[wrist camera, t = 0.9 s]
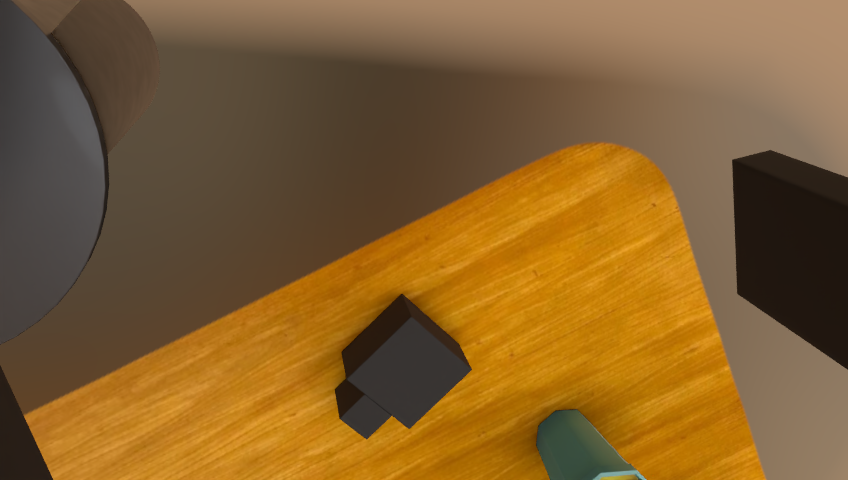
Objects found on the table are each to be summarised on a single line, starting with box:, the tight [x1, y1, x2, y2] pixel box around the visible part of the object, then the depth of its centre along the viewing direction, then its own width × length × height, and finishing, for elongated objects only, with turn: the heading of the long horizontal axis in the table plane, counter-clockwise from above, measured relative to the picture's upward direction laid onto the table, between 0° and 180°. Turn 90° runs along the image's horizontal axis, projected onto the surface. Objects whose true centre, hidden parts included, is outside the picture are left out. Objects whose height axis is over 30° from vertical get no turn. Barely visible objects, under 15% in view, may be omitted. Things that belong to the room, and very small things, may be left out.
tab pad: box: [335, 294, 472, 439], centre depth 60 cm, size 7×10×4 cm
